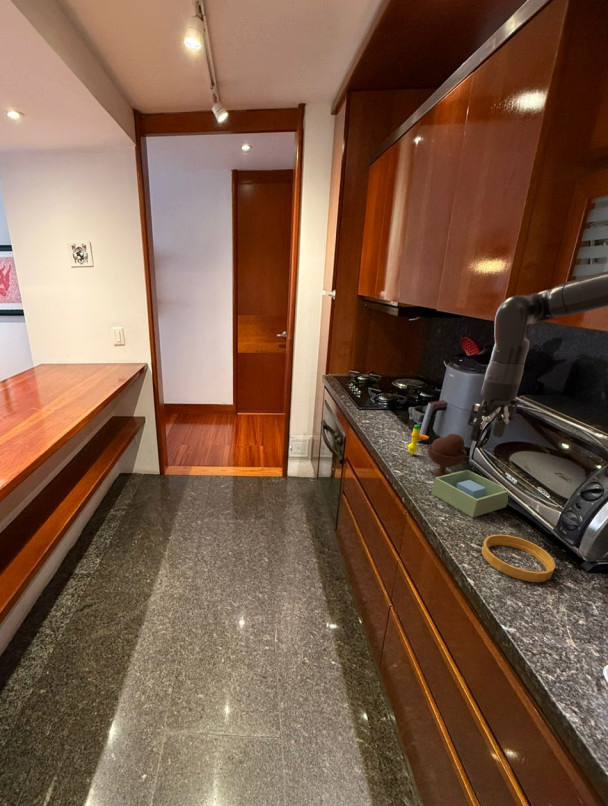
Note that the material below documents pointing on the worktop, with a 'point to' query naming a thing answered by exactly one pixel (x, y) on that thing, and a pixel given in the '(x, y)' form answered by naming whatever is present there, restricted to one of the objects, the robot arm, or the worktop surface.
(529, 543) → the wide orange band ring
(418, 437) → the toy figure
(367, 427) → the worktop surface
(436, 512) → the worktop surface
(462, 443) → the ice cream bowl
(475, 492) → the toy block
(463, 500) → the sage bin
